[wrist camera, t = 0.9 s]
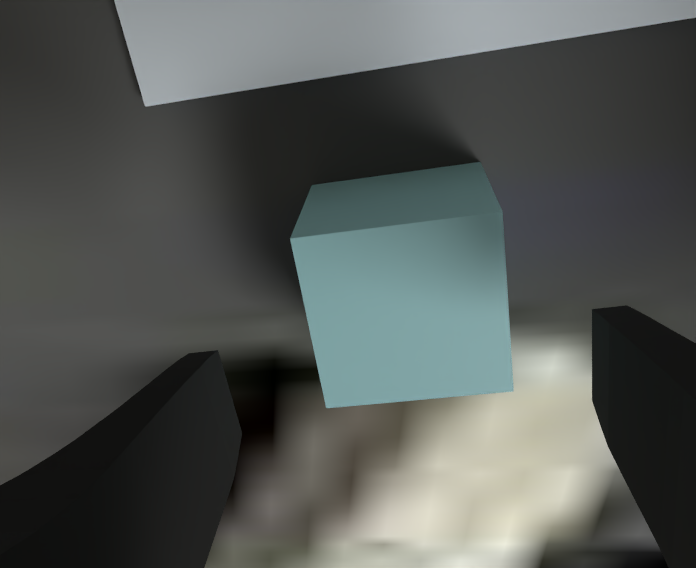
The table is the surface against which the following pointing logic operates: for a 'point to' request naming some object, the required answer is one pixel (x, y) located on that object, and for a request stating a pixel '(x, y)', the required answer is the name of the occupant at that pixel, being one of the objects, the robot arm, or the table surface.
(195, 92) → the board
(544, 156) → the table surface
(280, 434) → the table surface
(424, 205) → the teal block
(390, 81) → the table surface
